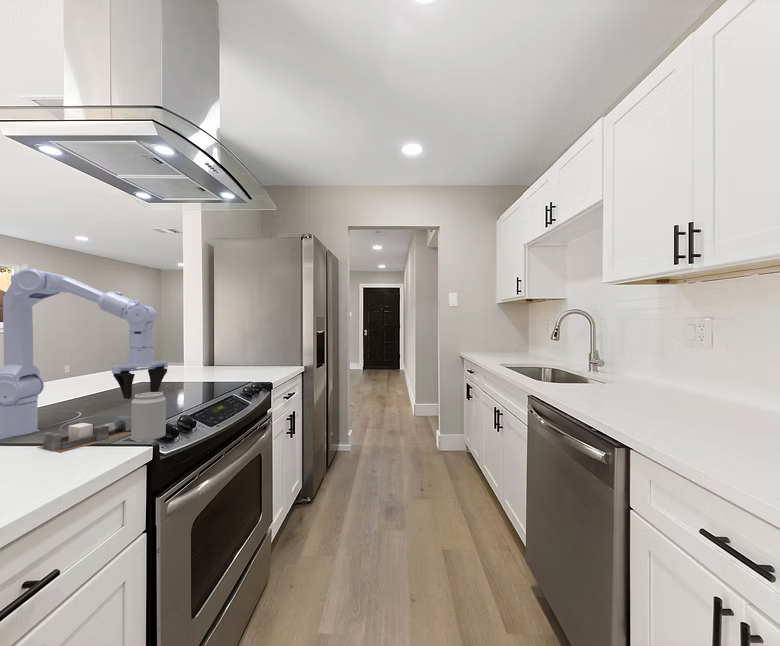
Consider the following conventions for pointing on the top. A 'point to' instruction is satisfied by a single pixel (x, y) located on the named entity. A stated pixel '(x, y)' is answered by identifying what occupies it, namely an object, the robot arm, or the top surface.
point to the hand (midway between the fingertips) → (141, 395)
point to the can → (148, 416)
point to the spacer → (80, 431)
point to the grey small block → (120, 424)
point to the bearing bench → (62, 444)
